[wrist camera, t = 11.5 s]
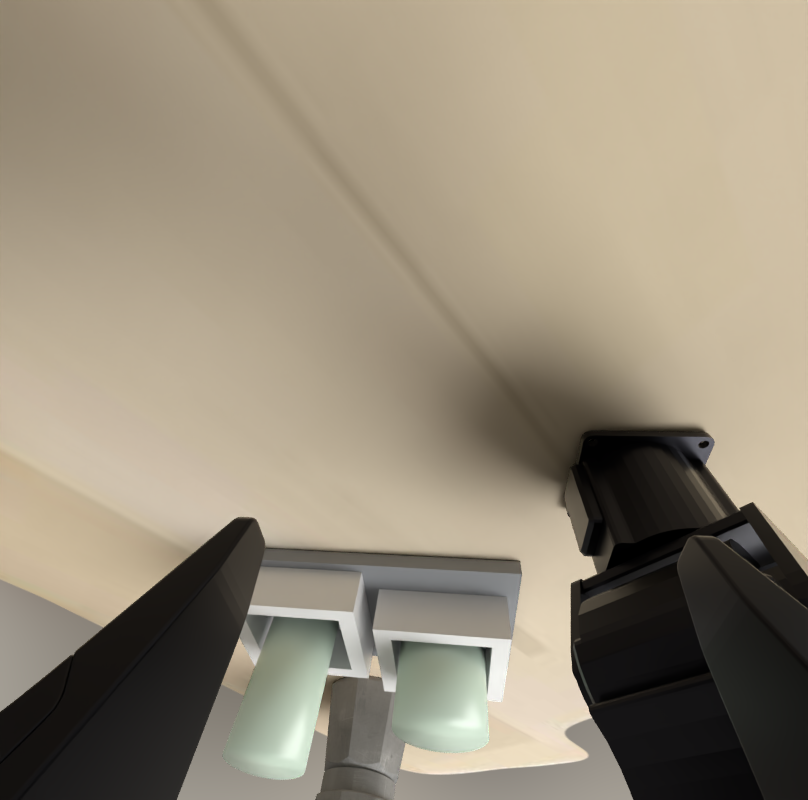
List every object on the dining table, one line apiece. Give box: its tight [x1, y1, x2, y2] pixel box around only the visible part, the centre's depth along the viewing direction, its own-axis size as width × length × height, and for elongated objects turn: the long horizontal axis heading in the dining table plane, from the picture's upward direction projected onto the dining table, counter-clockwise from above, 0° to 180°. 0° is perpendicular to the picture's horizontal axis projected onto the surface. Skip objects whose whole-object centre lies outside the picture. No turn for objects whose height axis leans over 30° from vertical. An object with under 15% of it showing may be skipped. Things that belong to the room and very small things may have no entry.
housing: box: [239, 548, 522, 753], centre depth 31 cm, size 21×13×8 cm, turn 94°
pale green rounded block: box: [223, 616, 339, 780], centre depth 29 cm, size 5×5×10 cm
